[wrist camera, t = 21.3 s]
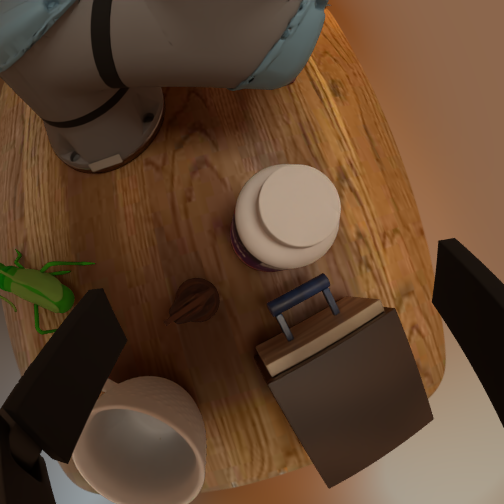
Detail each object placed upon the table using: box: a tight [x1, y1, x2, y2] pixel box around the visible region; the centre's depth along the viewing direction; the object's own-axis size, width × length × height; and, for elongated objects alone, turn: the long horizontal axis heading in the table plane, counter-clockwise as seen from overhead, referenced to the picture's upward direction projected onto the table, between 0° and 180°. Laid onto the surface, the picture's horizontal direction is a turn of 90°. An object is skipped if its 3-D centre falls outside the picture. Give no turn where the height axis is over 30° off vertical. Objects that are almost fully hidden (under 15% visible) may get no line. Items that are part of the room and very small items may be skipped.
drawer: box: [255, 273, 384, 377], centre depth 29 cm, size 17×11×8 cm
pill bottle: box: [230, 164, 341, 272], centre depth 27 cm, size 8×8×14 cm
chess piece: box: [164, 278, 220, 326], centre depth 28 cm, size 5×5×10 cm
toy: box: [0, 249, 96, 335], centre depth 26 cm, size 8×12×10 cm
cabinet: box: [254, 307, 433, 488], centre depth 29 cm, size 14×13×10 cm
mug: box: [72, 376, 207, 504], centre depth 25 cm, size 15×11×13 cm
